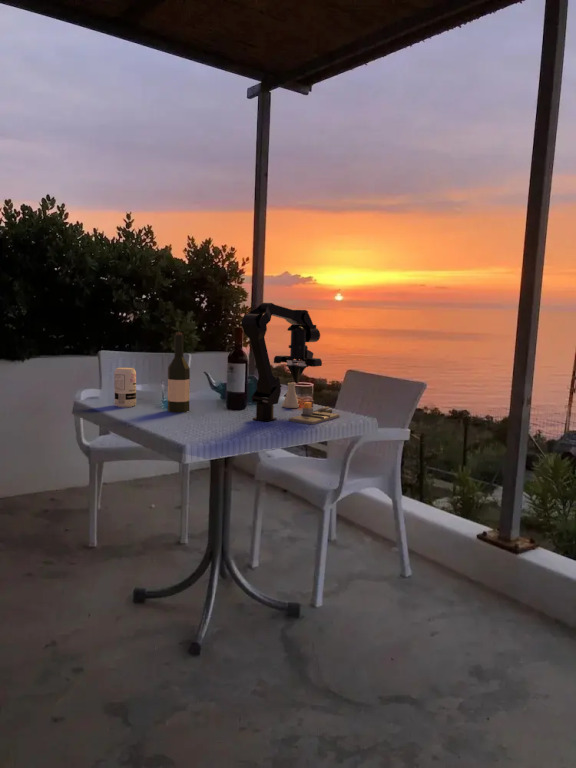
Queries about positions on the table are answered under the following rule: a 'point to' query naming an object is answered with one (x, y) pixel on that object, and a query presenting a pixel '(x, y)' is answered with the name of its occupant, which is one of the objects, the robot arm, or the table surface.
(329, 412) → the cables
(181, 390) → the wine bottle
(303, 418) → the panel
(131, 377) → the supplement can
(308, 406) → the toggle
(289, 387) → the flask
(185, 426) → the table surface
